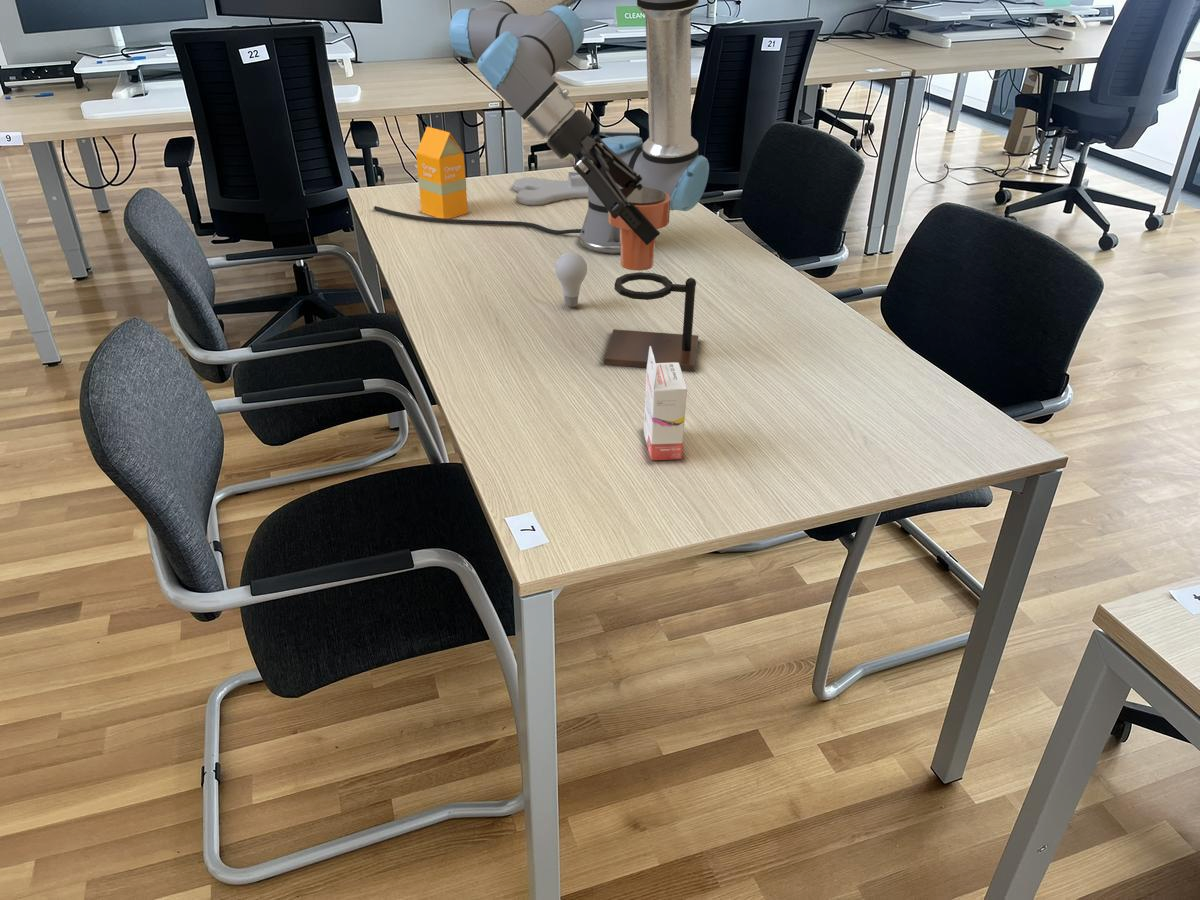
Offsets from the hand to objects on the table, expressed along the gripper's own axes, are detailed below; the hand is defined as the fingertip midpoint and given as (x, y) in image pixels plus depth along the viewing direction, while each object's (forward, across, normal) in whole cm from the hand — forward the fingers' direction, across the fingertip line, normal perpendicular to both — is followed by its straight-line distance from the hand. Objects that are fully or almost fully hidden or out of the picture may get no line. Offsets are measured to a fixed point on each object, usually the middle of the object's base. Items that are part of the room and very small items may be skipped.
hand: (656, 228), depth 151 cm
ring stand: (+15, 0, +15) cm, 22 cm away
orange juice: (-25, +68, +58) cm, 93 cm away
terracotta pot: (+2, 0, +7) cm, 7 cm away
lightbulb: (+4, +17, +28) cm, 33 cm away
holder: (-4, +90, +36) cm, 97 cm away
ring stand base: (+16, 0, +16) cm, 23 cm away
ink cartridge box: (+20, -30, +13) cm, 38 cm away
